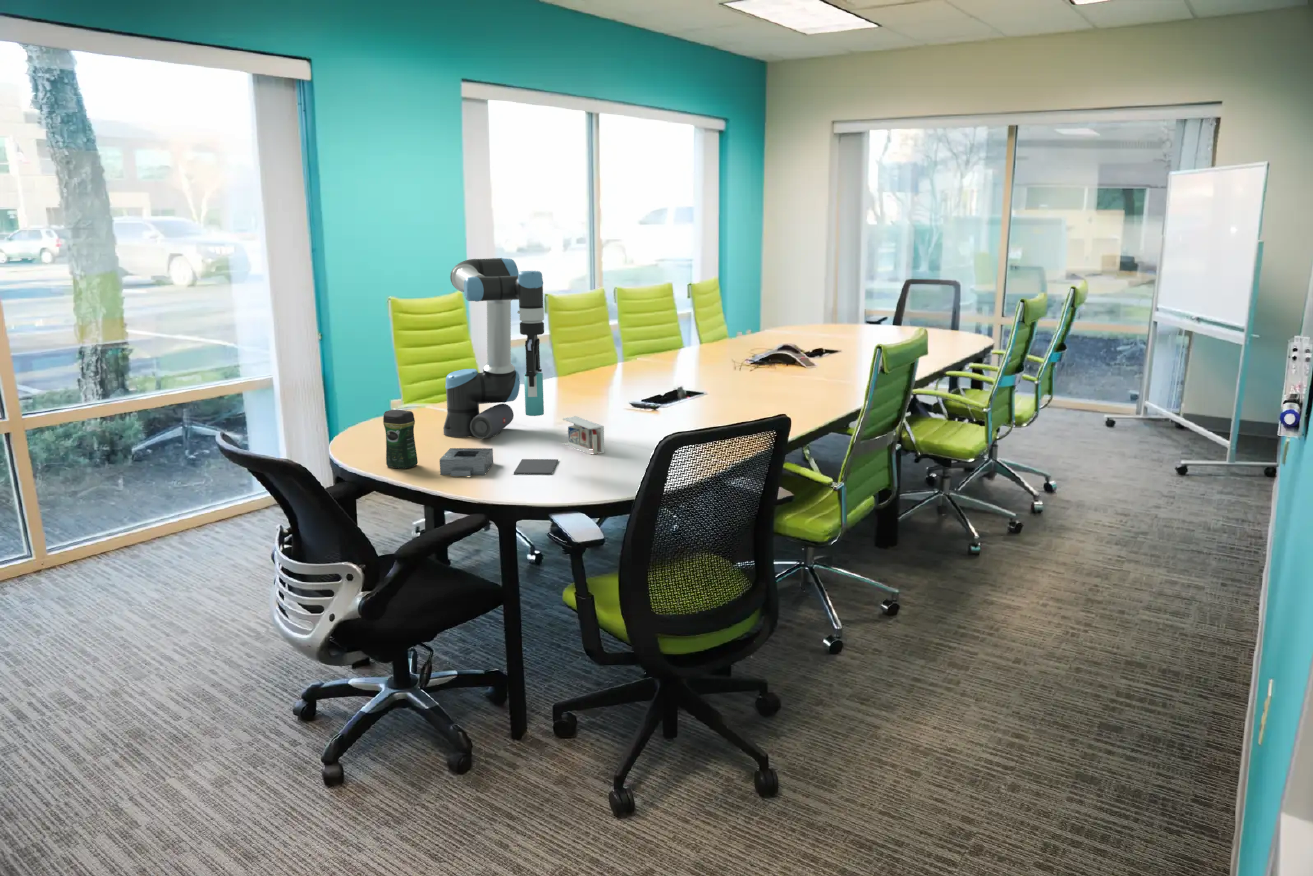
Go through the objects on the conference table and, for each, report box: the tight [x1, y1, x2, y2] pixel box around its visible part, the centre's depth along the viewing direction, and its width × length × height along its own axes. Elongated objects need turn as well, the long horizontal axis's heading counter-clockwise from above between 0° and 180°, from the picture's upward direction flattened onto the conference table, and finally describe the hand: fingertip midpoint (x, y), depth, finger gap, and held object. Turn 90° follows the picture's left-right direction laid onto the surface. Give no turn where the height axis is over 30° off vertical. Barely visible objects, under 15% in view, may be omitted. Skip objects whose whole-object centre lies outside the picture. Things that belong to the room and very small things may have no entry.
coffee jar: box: [382, 409, 419, 469], centre depth 299 cm, size 10×8×19 cm
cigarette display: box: [562, 415, 605, 455], centre depth 322 cm, size 20×6×9 cm, turn 35°
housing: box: [439, 447, 494, 477], centre depth 297 cm, size 19×14×5 cm
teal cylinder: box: [523, 371, 545, 417], centre depth 293 cm, size 6×6×14 cm
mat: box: [513, 458, 559, 476], centre depth 299 cm, size 16×12×1 cm
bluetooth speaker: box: [470, 403, 514, 439], centre depth 341 cm, size 23×9×10 cm, turn 168°
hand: (534, 394), depth 293 cm, fingers closed on teal cylinder, 6 cm apart
